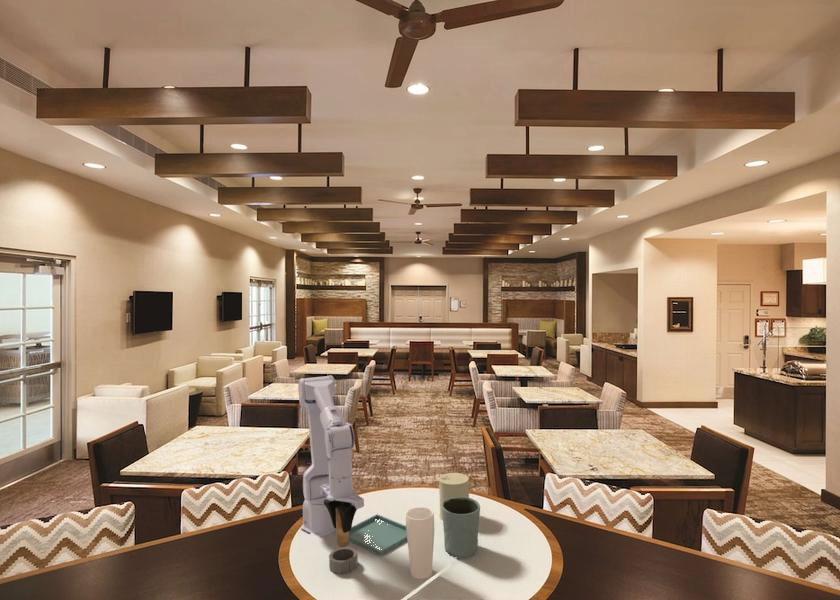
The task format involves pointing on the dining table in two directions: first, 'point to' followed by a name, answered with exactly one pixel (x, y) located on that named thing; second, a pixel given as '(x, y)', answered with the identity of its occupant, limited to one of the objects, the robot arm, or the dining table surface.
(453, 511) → the green cup
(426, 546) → the drinking glass
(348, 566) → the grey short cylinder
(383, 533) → the tray
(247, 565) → the dining table surface
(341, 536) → the pin
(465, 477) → the can
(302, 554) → the dining table surface
